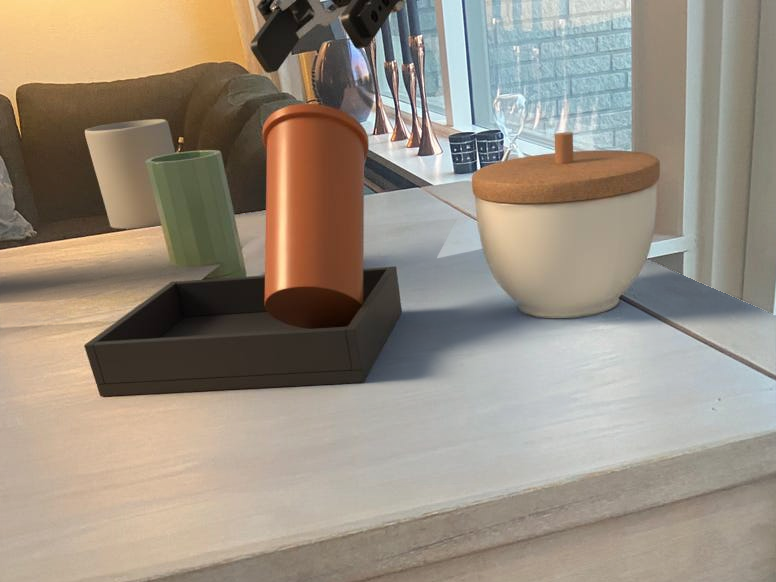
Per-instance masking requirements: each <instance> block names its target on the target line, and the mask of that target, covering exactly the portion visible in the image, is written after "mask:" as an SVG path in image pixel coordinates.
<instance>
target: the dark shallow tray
mask: <svg viewBox="0 0 776 582" xmlns="http://www.w3.org/2000/svg"><path fill="white" fill-rule="evenodd" d="M401 301H402V300H401V294H400V285H399V277H398V270H397V266H388V267H387V266H386V267H385V266H383V267H371V268H370V267H368V268H364V273H363V305H362V307H361V308H360V309H359V311H358V312H357V314H356V315H355V317H354V318H353V320H352V321H351V323H350V324H349V326H345V327H333V328H317V329H306V328H300V327H295V326H291V325H288V324H285V323H283V322H281V321H279V320H277V319H275V318H274V317H272V316H271V315H270V314H269V313H268V312H267V310H266V308H265V274H264V275H253V276H251V275H250V276H246V277H235V278H220V279H205V280H202V279H193V280H192V279H191V280H179V281H170V282H169V283H168V284H166V285H164V286H163V287H162V288H161V289H159V290H158V291H156V292H155V293H154V294H152V295H151V296H149V297H148V298H146V300H144V301H143V302H141V303H140V304H138V305H137V306H136V307H134V308H133V309H132V310H130V311H129V312H127V313H126V314H125V315H123V316H122V317H121V318H119V319H118V320H116V321H115V322H113V324H111V325H109V326H108V327H107V328H106V329H104V330H103V331H102V332H100V333H99V334H97V335H95V337H93V338H91V340H89V341H88V342H87V343H85V344H84V345H83V346H84V350H85V353H86V356H87V360H88V362H89V365H90V369H91V372H92V375H93V378H94V381H95V384H96V387H97V390H98V394H99V397H112V396H114V397H115V396H129V395H130V396H131V395H132V396H135V395H149V394H150V395H151V394H152V395H153V394H168V393H184V392H185V393H188V392H189V393H190V392H208V391H225V390H226V391H227V390H228V391H229V390H245V389H247V390H248V389H262V388H264V389H265V388H266V389H267V388H282V387H285V388H286V387H300V386H301V387H302V386H319V385H322V386H323V385H337V384H339V385H340V384H357V383H364V382H365V380H366V378H367V377H368V375H369V373H370V372H371V369H372V368H373V366H374V364H375V362H376V360H377V358H378V357H379V356H380V353H381V351H382V349H383V347H384V346H385V344H386V342H387V340H388V338H389V337H390V335H391V333H392V331H393V330H394V328H395V326H396V324H397V322H398V320H399V318H400V316H401V315H402V313H403V308H402V302H401Z"/></svg>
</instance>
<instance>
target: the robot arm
mask: <svg viewBox="0 0 776 582" xmlns="http://www.w3.org/2000/svg"><path fill="white" fill-rule="evenodd" d="M330 1H331V2H332V3H331V4H330V5H329V6H328V7H324V6H323V4H322V2H321V0H260V1H259V3H258V4H257V6H256V8H257V10H258V12H259V13H260V15H261V16H262V18H263V19H264V21H265V22H264V23H263V25H262V26H261V28H259V30H258V31H257V33H256V34H255V36H254V37H253V38H252V40H251V41H250V50H251V52H252V54H253V56H254V57H255V58H256V61H258V63H259V65H260V67H261V68H262V69H263V71H264V72H265V73H267V74H271V73H274V72H277V71H279V69H280V68H281V66H282V65H283V64H284V62H285V61H286V59H287V58H288V57H289V55H290V54H291V52H292V51H293V50H294V49H295V47H296V46H297V44H298V42H299V41H300V40H301V39H302V37H303V36H305V35H306V34H307V33H308V32H310V31H311V30H312V29H313V28H314V27H316V26H317V25H321V26H323V27H327V26H330V25H331V24H332V23H333V22H334V21H335V20H337V19H338V18H339V17H340V22H341V25H342V27H343V29H344V31H345V32H346V34H347V36H348V39H349V40H350V42H351V43H352V45H353V47H354V48H355V49H357V50H361V49H364V48H368V47H369V46H370V45H371V43H372V42H373V40H374V39H375V37H376V36H377V34H378V33H379V31H380V30H381V28H382V27H383V25H384V24H385V22H386V21H387V20H388V18H389V16H391V14H394V13H396V12H400V11H401V10H402V9H403V8H404V7H405V5H406V4H407V0H330ZM415 1H419V0H415ZM307 13H308V14H307ZM305 15H306V16H305Z"/></svg>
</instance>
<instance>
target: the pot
mask: <svg viewBox="0 0 776 582" xmlns="http://www.w3.org/2000/svg"><path fill="white" fill-rule="evenodd" d="M261 135H262V144H263V147H264V149H265V151H266V177H265V179H266V183H265V184H266V185H265V186H266V187H265V190H266V192H265V240H264V241H265V243H264V245H265V247H264V248H265V249H264V250H265V252H264V253H265V254H264V275H265V308H266V310H267V312H268V313H269V314H270V315H271V316H272V317H274V318H275V319H277V320H279V321H281V322H283V323H285V324H288V325H291V326H295V327H300V328H306V329H317V328H333V327H345V326H349V324H350V323H351V321H352V320H353V318H354V317H355V315H356V314H357V312H358V311H359V309H360V308H361V307H362V305H363V273H364V269H365V268H364V264H365V262H364V261H365V260H364V258H365V255H364V252H365V251H364V249H365V248H364V247H365V245H364V244H365V243H364V239H365V231H364V230H365V227H364V226H365V219H364V218H365V161H366V158H367V157H368V154H369V146H370V145H369V135H368V133H367V131H366V129H365V128H364V126H363V124H361V122H359V120H358V119H356V118H355V117H353V116H352V115H350V114H349V113H347V112H345V111H343V110H341V109H339V108H336V107H333V106H328V105H324V104H317V103H296V104H291V105H287V106H284V107H282V108H280V109H279V108H278V109H277V110H275V111H273V112H272V113H271V114H270V115H269V116H268V117H267V118H266V120H265V121H264V123H263V126H262V134H261Z"/></svg>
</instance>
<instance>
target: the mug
mask: <svg viewBox="0 0 776 582" xmlns="http://www.w3.org/2000/svg"><path fill="white" fill-rule="evenodd" d="M84 134H85V135H84V136H85V140H86V143H87V147H88V150H89V154H90V157H91V161H92V165H93V168H94V172H95V175H96V179H97V182H98V186H99V190H100V194H101V197H102V200H103V204H104V207H105V212H106V215H107V219H108V223H109V226H110V227H111V228H113V229H140V228H148V227H156V226H161V222H160V218H159V214H158V210H157V206H156V202H155V198H154V194H153V190H152V186H151V182H150V178H149V174H148V171H147V167H146V163H145V160H147V159H150V158H153V157H157V156H162V155H167V154H173V153H176V151H175V145H174V142H173V137H172V133H171V129H170V125H169V122H168V120H166V119H161V118H159V119H157V118H155V119H142V120H132V121H123V122H115V123H109V124H102V125H98V126H97V125H96V126H93V127H89V128H86V129H85V130H84Z"/></svg>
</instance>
